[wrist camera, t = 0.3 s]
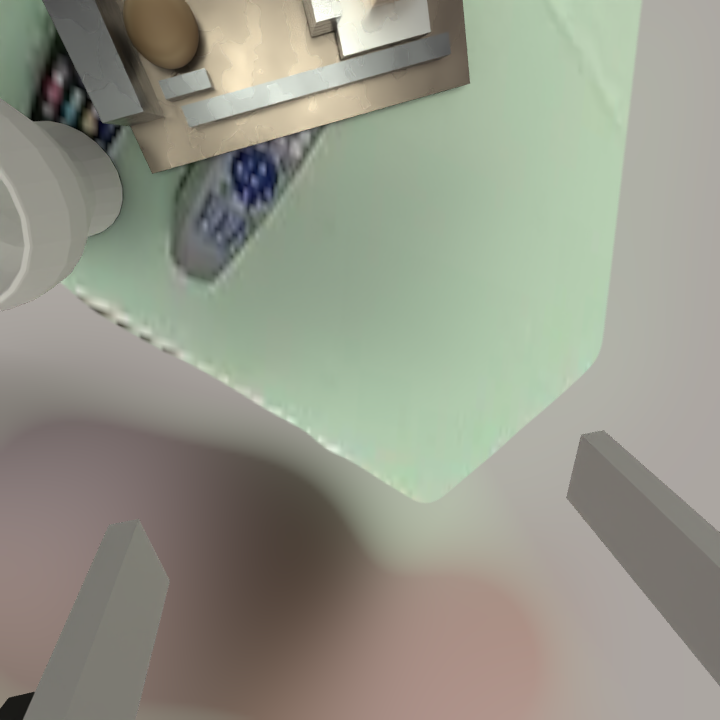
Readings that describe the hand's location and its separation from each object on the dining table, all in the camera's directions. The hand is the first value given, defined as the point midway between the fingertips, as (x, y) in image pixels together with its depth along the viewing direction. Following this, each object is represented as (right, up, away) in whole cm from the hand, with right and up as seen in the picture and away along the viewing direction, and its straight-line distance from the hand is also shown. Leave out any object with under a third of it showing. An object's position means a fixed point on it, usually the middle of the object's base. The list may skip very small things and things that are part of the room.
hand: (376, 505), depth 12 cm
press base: (-6, +28, +15) cm, 32 cm away
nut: (-13, +25, +13) cm, 31 cm away
